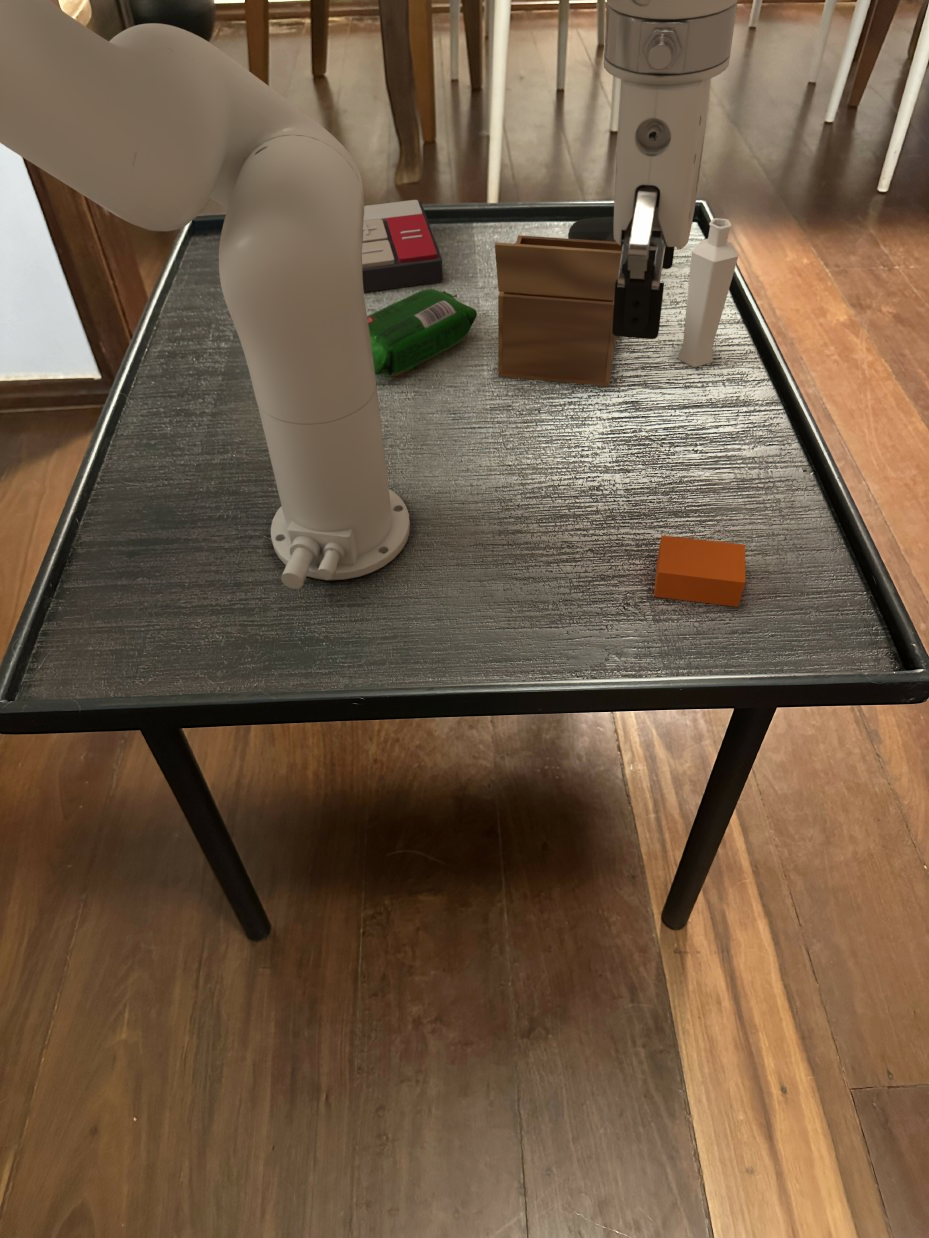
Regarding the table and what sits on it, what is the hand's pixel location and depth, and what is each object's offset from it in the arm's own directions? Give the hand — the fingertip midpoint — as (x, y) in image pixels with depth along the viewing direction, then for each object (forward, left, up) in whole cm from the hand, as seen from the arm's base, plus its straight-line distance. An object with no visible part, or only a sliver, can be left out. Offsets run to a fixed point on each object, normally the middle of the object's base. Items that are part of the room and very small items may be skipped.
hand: (643, 299), depth 67 cm
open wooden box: (+27, +8, -22) cm, 36 cm away
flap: (+20, +8, -9) cm, 23 cm away
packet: (-7, -8, -22) cm, 24 cm away
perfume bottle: (+28, -6, -22) cm, 36 cm away
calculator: (+44, +32, -22) cm, 59 cm away
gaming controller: (+44, +4, -22) cm, 50 cm away
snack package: (+24, +24, -22) cm, 41 cm away
